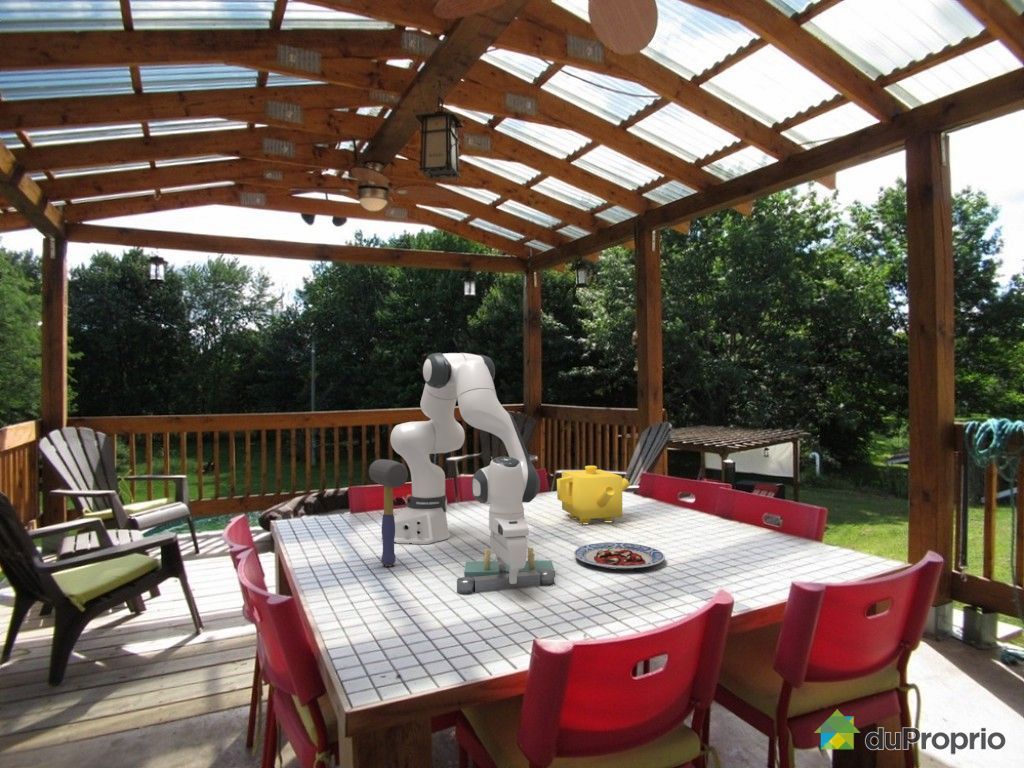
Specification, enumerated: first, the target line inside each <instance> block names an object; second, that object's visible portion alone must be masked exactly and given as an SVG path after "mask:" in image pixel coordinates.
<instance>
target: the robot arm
mask: <svg viewBox="0 0 1024 768" xmlns="http://www.w3.org/2000/svg"><path fill="white" fill-rule="evenodd" d="M495 375H496V368H495V363H494V362H493V359H491V357H489V356H487V355H484V354H473V353H467V352H459V353H458V352H448V353H446V352H445V353H442V352H436V353H431V354H429V355H428V356H427V357H426V358H425V360H424V362H423V367H422V376H423V381H424V382H425V384H424V388H423V392H422V394H421V395H422V396H421V400H420V403H419V404H420V410H421V411H422V414H424V415H425V416H426V417H428V418H429V419H430V420H421V421H409V422H403V423H400V424H396V425H395V426H394V427H393V429H392V430H391V433H390V438H389V439H390V440H389V441H390V445H391V447H392V449H393V450H394V452H396V454H398V455H400V456H401V457H402V458H403V459H404V461H405V462H406V464H407V466H408V469H409V472H410V477H411V478H410V479H411V494H407V495H406V497H405V506H406V507H404V508H403V509H402V510H400V511H399V512H398V513H397V514H395V515H394V520H395V538H394V542H396V543H395V544H409V543H412V544H415V545H419V544H420V545H429V544H433V543H436V542H440V541H444V540H445V541H446V540H448V539H449V538H450V537H451V533H450V530H449V526H448V520H447V510H448V497H447V494H446V474H445V471H444V470H443V469H442V467H440V466H439V465H438V464H436V463H435V464H434V463H433V462H432V461H431V458H430V455H432V454H445V453H450V452H454V451H458V450H460V449H461V448H462V447H463V445H464V443H465V437H466V436H465V435H466V434H465V430H464V428H463V426H462V425H461V423H459V422H458V421H457V420H456V418H455V408H456V404H457V405H458V409H459V413H460V416H461V417H462V419H463V421H464V422H466V423H467V424H468V425H470V426H471V427H473V428H475V429H477V430H481V431H484V432H487V433H489V434H493V435H494V436H496V437H498V439H500V440H501V441H502V442H503V444H504V446H505V449H506V451H507V454H508V456H498V457H494V458H493V459H491V461H490V463H489V465H487V466H484V467H482V468H479V469H477V471H476V472H475V473H474V474H473V476H472V477H471V495H472V497H473V498H475V500H476V501H477V502H479V503H480V504H483V505H489V510H488V529H489V531H490V535H489V536H490V537H489V538H490V539H489V540H490V543H489V544H490V551H492V552H493V553H494V554H495V557H496V561H497V563H498V571H499V572H500V573H505V572H506V565H507V566H508V567H509V575H508V581H509V583H510V584H515V583H517V574H518V571H519V569H523V568H524V567H525V565H526V561H527V557H528V541H527V536H529V531H530V530H529V526H528V524H527V521H526V519H525V508H524V504H523V503H525V504H526V503H530V502H532V501H533V500H534V499H535V498H536V497H537V495H538V494H539V492H540V490H541V480H540V476H539V474H538V471H537V470H536V468H535V466H534V465H533V463H532V460H531V458H530V456H529V453H528V451H527V448H526V444H525V443H524V440H523V438H522V436H521V432H520V430H519V428H518V424H517V423H516V420H515V418H514V416H513V415H512V413H511V412H509V411H507V410H506V409H505V408H504V406H502V404H501V402H500V401H499V399H498V396H497V391H496V389H495V388H496V387H495V383H494V379H495ZM382 540H383V539H382V538H381V541H382ZM412 544H411V545H412ZM505 564H506V565H505Z"/></svg>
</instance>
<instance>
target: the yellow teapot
mask: <svg viewBox="0 0 1024 768" xmlns="http://www.w3.org/2000/svg"><path fill="white" fill-rule="evenodd" d="M630 486H631V482H629V480H628V479H626V478H625V477H622V475H619V474H616V473H612V472H609V471H606V470H603V469H598V466H597V465H585V466H584V470H566V471H565V470H563V471H561V477H559V478H556V495H557V497H556V498H557V500H559V501H560V502H561V510H563V511H565V512H567V514H570V515H569V517H570V518H569V519H572V518H578V519H579V521H578V523H579V522H580V523H590V524H591V519H592V520H593V519H602V520H604V521H613V520H614V518H619V517H620V518H621V517H623V492H624V491H626V490H627V489H628V488H629V487H630ZM604 521H603V522H604ZM580 523H579V524H580Z"/></svg>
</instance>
